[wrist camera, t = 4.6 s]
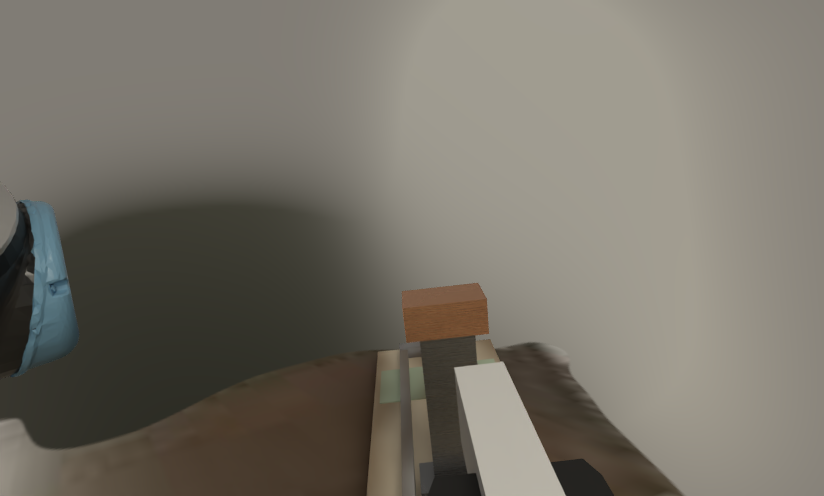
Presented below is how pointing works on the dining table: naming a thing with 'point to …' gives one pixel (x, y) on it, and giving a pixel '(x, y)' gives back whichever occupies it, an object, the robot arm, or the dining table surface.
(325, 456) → the dining table surface
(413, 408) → the fader console
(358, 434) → the dining table surface
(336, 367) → the dining table surface
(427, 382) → the fader lever
